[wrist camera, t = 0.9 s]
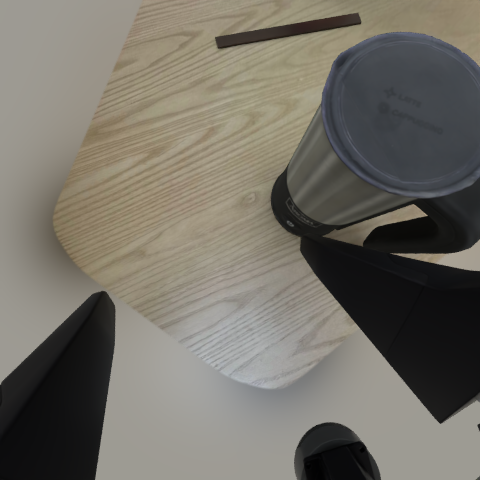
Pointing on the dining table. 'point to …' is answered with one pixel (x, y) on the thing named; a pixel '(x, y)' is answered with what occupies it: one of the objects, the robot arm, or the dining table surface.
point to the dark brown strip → (287, 30)
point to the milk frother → (391, 148)
